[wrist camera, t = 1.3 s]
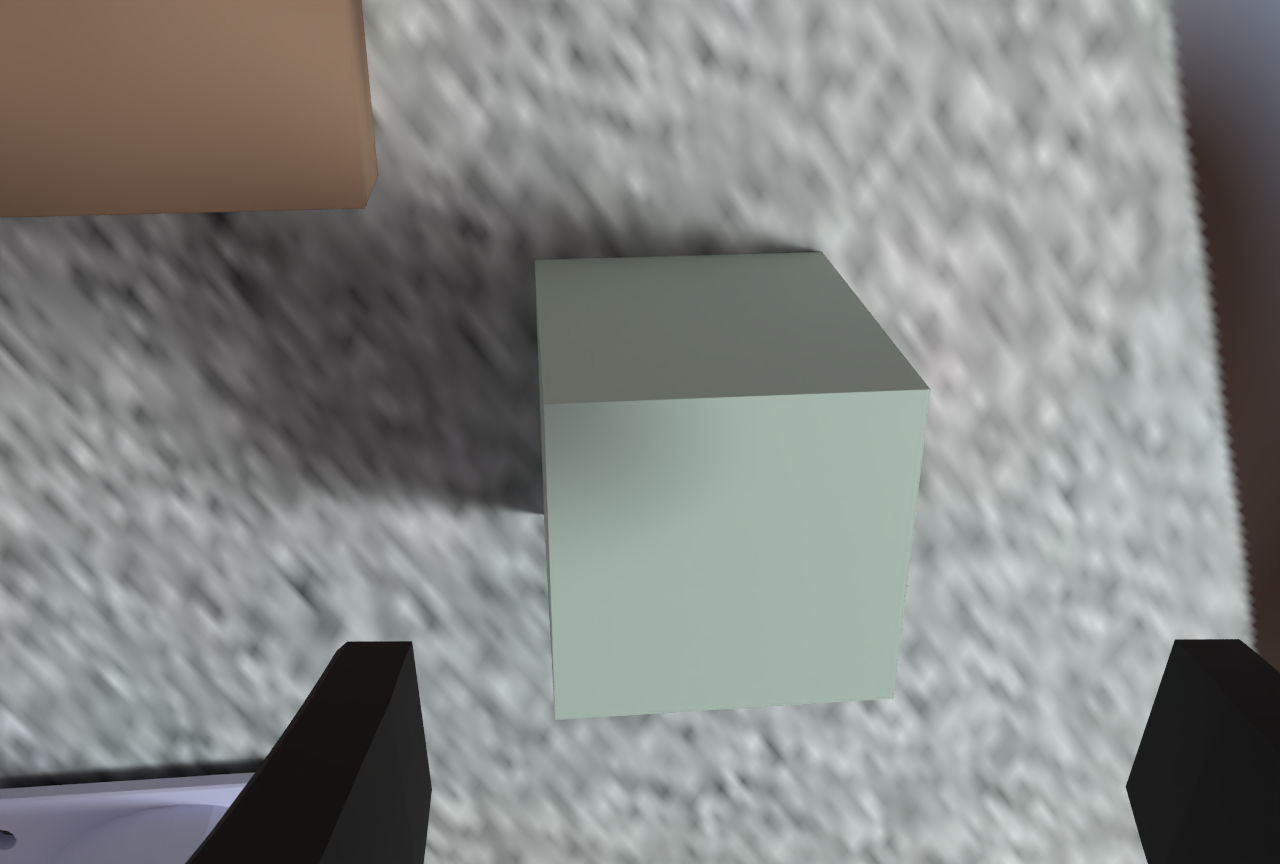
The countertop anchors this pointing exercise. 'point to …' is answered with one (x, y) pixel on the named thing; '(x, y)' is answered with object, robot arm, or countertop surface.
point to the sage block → (722, 483)
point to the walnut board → (183, 107)
